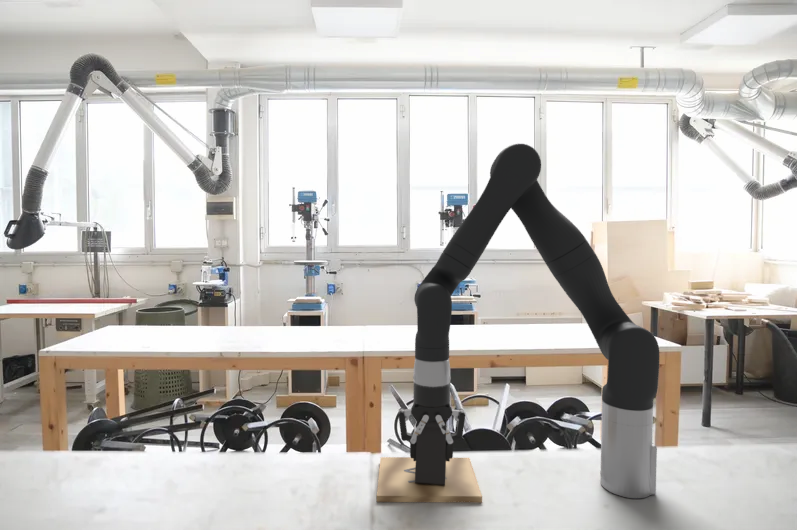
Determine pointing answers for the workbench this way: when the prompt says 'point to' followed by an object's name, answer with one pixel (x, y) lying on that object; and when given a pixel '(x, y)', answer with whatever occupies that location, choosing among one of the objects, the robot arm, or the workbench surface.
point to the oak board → (401, 485)
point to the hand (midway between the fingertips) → (431, 459)
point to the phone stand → (431, 455)
